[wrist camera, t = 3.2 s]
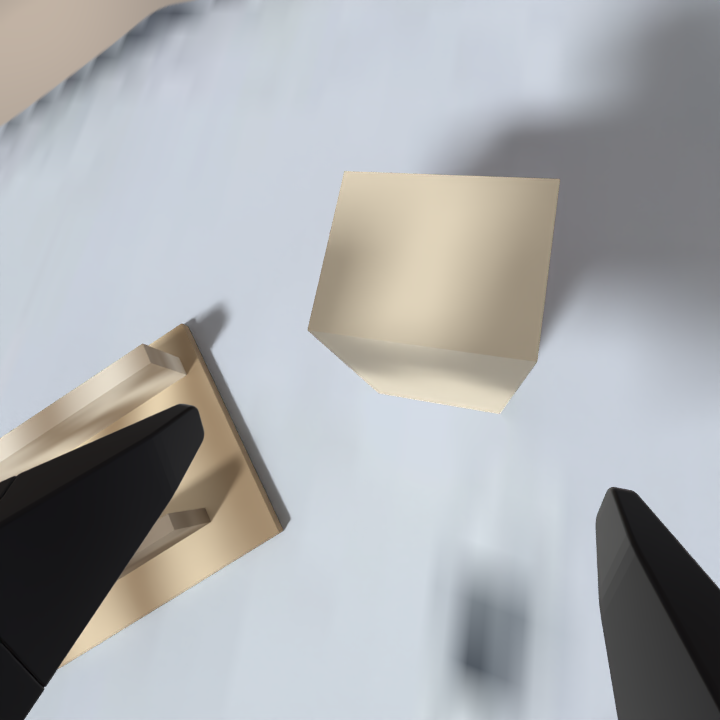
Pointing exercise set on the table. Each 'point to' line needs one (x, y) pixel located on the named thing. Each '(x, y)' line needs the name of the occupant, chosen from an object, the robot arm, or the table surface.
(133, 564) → the shelf slot
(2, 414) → the table surface
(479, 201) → the boxed book
